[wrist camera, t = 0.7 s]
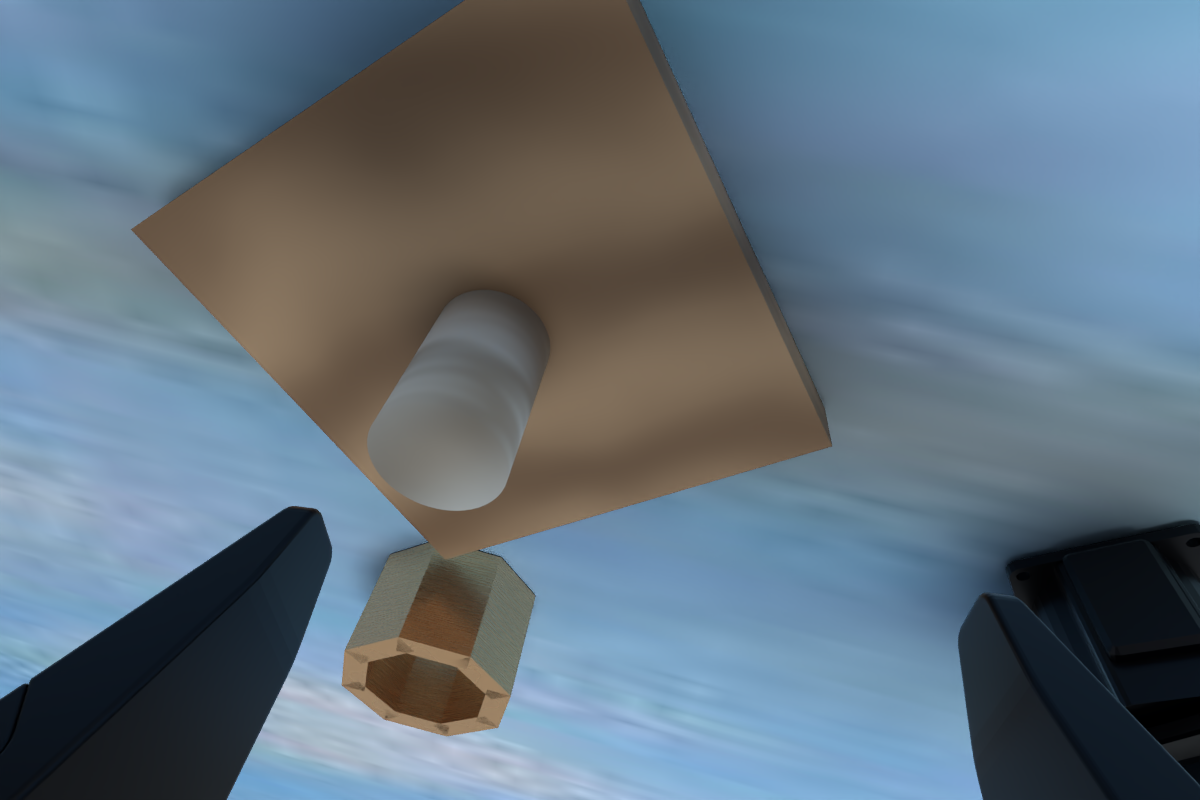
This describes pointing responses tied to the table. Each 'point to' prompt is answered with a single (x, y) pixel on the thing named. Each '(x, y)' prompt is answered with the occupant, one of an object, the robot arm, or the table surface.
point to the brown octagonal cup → (440, 641)
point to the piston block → (503, 276)
